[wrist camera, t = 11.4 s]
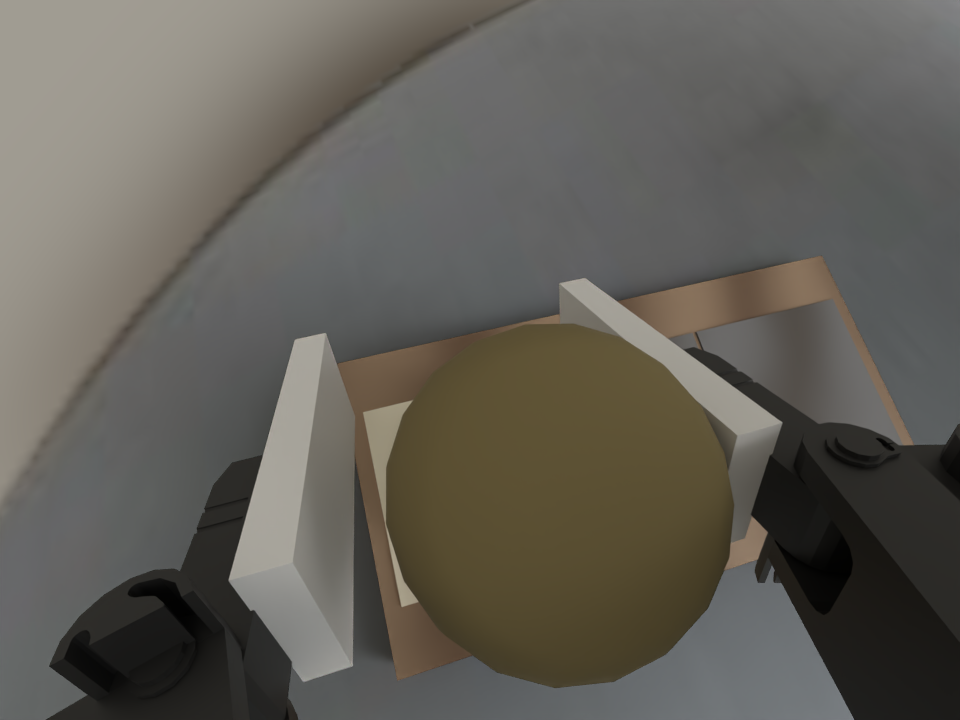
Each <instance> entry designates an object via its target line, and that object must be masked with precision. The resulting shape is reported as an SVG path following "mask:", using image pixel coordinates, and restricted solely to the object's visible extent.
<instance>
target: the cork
mask: <svg viewBox="0 0 960 720" xmlns="http://www.w3.org/2000/svg"><path fill="white" fill-rule="evenodd" d="M733 514H734V500H733V495H732V490H731V484H730V479H729V474H728V469H727V463H726V458H725V453H724V451H723V449H722V447H721V445H720V443H719V441H718V439H717V437H716V435H715V433H714V431H713V429H712V427H711V425H710V423H709V421H708V418H707V416H706V414H705V412H704V410H703V408H702V406H701V405H700V404H699V403H698V402H697V401H696V400H695V399H694V398H693V396H692V395H691V394H690V393H689V392H688V391H687V390H686V389H685V387H684V386H683V385H682V384H681V383H680V382H679V381H678V380H677V379H676V377H675V376H674V375H673V374H672V373H671V372H670V371H669V370H668V369H667V368H666V367H665V366H664V365H663V364H662V363H661V362H659V361H658V360H656V359H654V358H653V357H651V356H650V355H648V354H647V353H645V352H643V351H642V350H640V349H639V348H637V347H636V346H634V345H632V344H631V343H629V342H628V341H626V340H625V339H623V338H621V337H619V336H615V335H612V334H608V333H605V332H602V331H598V330H595V329H591V328H588V327H584V326H581V325H577V324H574V323H572V324H525V325H522V326H519V327H516V328H513V329H510V330H507V331H504V332H501V333H498V334H495V335H492V336H489V337H487V338H484V339H481V340H478V341H476V342H474V343H472V344H470V345H469V346H468V347H466V348H465V349H464V350H462V351H461V352H460V353H458V354H457V355H456V356H454V357H453V358H452V359H450V360H449V361H448V362H446V363H445V364H444V365H442V366H441V367H439V368H438V369H437V370H435V371H434V372H433V373H432V374H431V376H430V377H429V378H428V380H427V381H426V383H425V384H424V385H423V387H422V388H421V390H420V391H419V393H418V394H417V395H416V397H415V398H414V400H413V401H412V402H411V404H410V405H409V407H408V408H407V409H406V411H405V412H404V414H403V415H402V419H401V422H400V425H399V428H398V431H397V434H396V437H395V441H394V444H393V447H392V450H391V453H390V456H389V459H388V462H387V466H386V526H387V529H388V532H389V536H390V539H391V542H392V545H393V548H394V551H395V555H396V558H397V561H398V564H399V567H400V571H401V574H402V577H403V580H404V582H405V583H406V585H407V586H408V588H409V589H410V590H411V592H412V593H413V595H414V596H415V597H416V599H417V600H418V602H419V603H420V604H421V606H422V607H423V609H424V610H425V611H426V613H427V614H428V616H429V617H430V618H431V620H432V621H433V623H434V624H435V625H436V627H437V628H438V629H439V631H441V632H442V633H443V634H444V635H445V636H446V637H448V638H449V639H450V640H452V641H453V642H455V643H456V644H458V645H459V646H460V647H462V648H463V649H465V650H466V651H467V652H469V653H470V654H472V655H473V656H474V657H476V658H477V659H479V660H480V661H482V662H483V663H484V664H486V665H487V666H489V667H490V668H491V669H493V670H494V671H496V672H498V673H501V674H505V675H509V676H512V677H516V678H520V679H524V680H527V681H531V682H535V683H538V684H542V685H546V686H550V687H553V688H560V687H569V686H578V685H588V684H597V683H606V682H614V681H616V680H618V679H620V678H622V677H624V676H626V675H628V674H630V673H631V672H633V671H635V670H637V669H639V668H641V667H643V666H645V665H647V664H649V663H651V662H653V661H655V660H656V659H658V658H660V657H662V656H664V655H666V654H667V653H668V652H669V651H670V650H671V649H672V648H673V646H674V645H675V644H676V643H677V642H678V641H679V640H680V639H681V638H682V637H683V635H684V634H685V633H686V632H687V631H688V630H689V629H690V628H691V627H692V625H693V624H694V623H695V622H696V621H697V620H698V619H699V618H700V617H701V615H702V614H703V613H704V612H705V611H706V610H707V609H708V607H709V605H710V602H711V600H712V598H713V595H714V593H715V591H716V588H717V586H718V583H719V581H720V579H721V576H722V574H723V572H724V569H725V567H726V565H727V562H728V560H729V555H730V545H731V534H732V524H733Z"/></svg>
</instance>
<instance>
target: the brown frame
mask: <svg viewBox="0 0 960 720" xmlns="http://www.w3.org/2000/svg"><path fill="white" fill-rule="evenodd" d="M617 302H618V303H620V304H621V305H622V306H624V307H625V308H626V309H628V310H629V311H631V312H632V313H633V314H635V315H636V316H637V317H639V318H640V319H642V320H643V321H644V322H646V323H647V324H648V325H650V326H651V327H652V328H654V329H655V330H657V331H658V332H659V333H661V334H662V335H663V336H665V337H666V338H667V339H669V340H670V341H672V342H673V343H674V344H676V345H677V346H678V347H680V348H681V349H687V348H691V347H696V348H698V349H701V350H704V351H706V352H709V353H712V354H715V355H717V356H719V357H721V358H722V359H724V360H725V361H727V362H728V363H730V364H731V365H732V366H734V367H735V368H737V371H738V372H739V371H741V372H743V373H744V374H746V375H747V376H749V377H750V378H752V379H753V382H754V383H755V382H758V383H759V384H761V385H762V386H764V387H765V388H766V389H768V390H769V391H771V392H772V393H774V394H775V395H777V396H778V397H780V398H781V399H783V400H784V401H786V402H787V403H789V404H790V405H792V406H793V407H795V408H796V409H797V410H799V411H800V412H802V413H803V414H805V415H806V416H808V417H809V418H811V419H812V420H814V421H815V422H817V423H818V424H822V423H827V422H833V423H847V424H852V425H856V426H859V427H863V428H867V429H870V430H872V431H875V432H877V433H879V434H881V435H883V436H886V437H888V438H890V439H891V440H892V441H894V442H895V443H897V444H898V445H914V443H913V441H912V439H911V437H910V435H909V433H908V431H907V429H906V427H905V425H904V423H903V421H902V419H901V417H900V415H899V413H898V411H897V409H896V407H895V404H894V402H893V400H892V398H891V396H890V394H889V392H888V390H887V388H886V386H885V384H884V382H883V380H882V378H881V376H880V374H879V372H878V370H877V368H876V366H875V363H874V361H873V359H872V357H871V355H870V353H869V351H868V349H867V347H866V345H865V343H864V341H863V339H862V337H861V335H860V333H859V331H858V329H857V327H856V324H855V322H854V320H853V318H852V316H851V314H850V312H849V310H848V308H847V306H846V304H845V302H844V300H843V298H842V296H841V294H840V292H839V290H838V288H837V286H836V283H835V281H834V279H833V277H832V275H831V273H830V271H829V269H828V267H827V265H826V263H825V261H824V259H823V257H822V256H818V257H813V258H809V259H804V260H800V261H795V262H791V263H786V264H782V265H777V266H773V267H768V268H764V269H759V270H755V271H750V272H746V273H741V274H737V275H732V276H728V277H723V278H719V279H714V280H710V281H705V282H701V283H696V284H692V285H687V286H683V287H678V288H674V289H670V290H665V291H661V292H656V293H652V294H647V295H643V296H638V297H634V298H629V299H625V300H620V301H617ZM525 324H560V314H557V315H553V316H548V317H544V318H539V319H535V320H530V321H526V322H521V323H517V324H512V325H508V326H503V327H499V328H494V329H490V330H486V331H481V332H477V333H472V334H468V335H463V336H459V337H454V338H450V339H445V340H441V341H436V342H432V343H427V344H423V345H418V346H414V347H409V348H405V349H400V350H396V351H391V352H387V353H382V354H378V355H373V356H369V357H364V358H360V359H355V360H351V361H346V362H342V363H337V364H338V369H339V372H340V375H341V378H342V381H343V383H344V386H345V389H346V392H347V395H348V398H349V401H350V404H351V406H352V409H353V412H354V415H355V460H356V465H357V470H358V476H359V481H360V486H361V491H362V497H363V502H364V507H365V513H366V518H367V523H368V528H369V534H370V539H371V544H372V550H373V555H374V560H375V565H376V571H377V576H378V581H379V587H380V592H381V597H382V602H383V608H384V613H385V618H386V624H387V629H388V634H389V639H390V645H391V650H392V655H393V661H394V666H395V671H396V677H397V681H398V680H401V679H404V678H407V677H410V676H413V675H416V674H419V673H422V672H425V671H428V670H431V669H434V668H436V667H439V666H442V665H445V664H448V663H451V662H454V661H457V660H460V659H463V658H466V657H469V656H472V654H470V653H469V652H467V651H466V650H465V649H463V648H462V647H460V646H459V645H458V644H456V643H455V642H453V641H452V640H450V639H449V638H448V637H446V636H445V635H444V634H443V633H442V632H441V631H439V629H438V628H437V627H436V625H435V624H434V623H433V621H432V620H431V618H430V617H429V616H428V614H427V613H426V611H425V610H424V609H423V607H422V606H421V604H420V603H419V602H418V600H417V599H416V597H415V596H414V595H413V593H412V592H411V590H410V589H409V588H408V586H407V585H406V583H405V582H404V580H403V577H402V574H401V571H400V567H399V564H398V561H397V558H396V555H395V551H394V548H393V545H392V542H391V539H390V536H389V532H388V529H387V526H386V466H387V462H388V459H389V456H390V453H391V450H392V447H393V444H394V441H395V437H396V434H397V431H398V428H399V425H400V422H401V419H402V415H403V414H404V412H405V411H406V409H407V408H408V407H409V405H410V404H411V402H412V401H413V400H414V398H415V397H416V395H417V394H418V393H419V391H420V390H421V388H422V387H423V385H424V384H425V383H426V381H427V380H428V378H429V377H430V376H431V374H432V373H433V372H434V371H435V370H437V369H438V368H439V367H441V366H442V365H444V364H445V363H446V362H448V361H449V360H450V359H452V358H453V357H454V356H456V355H457V354H458V353H460V352H461V351H462V350H464V349H465V348H466V347H468V346H469V345H470V344H472V343H474V342H476V341H478V340H481V339H484V338H487V337H489V336H492V335H495V334H498V333H501V332H504V331H507V330H510V329H513V328H516V327H519V326H522V325H525ZM767 533H768V532H767V531H766V530H765V529H764V528H763V527H762V526H761V525H760V524H759V523H758V522H757V521H756V520H755V519H754V518H753V517H752V518H751V521H750V524H749V527H748V530H747V533H746V536H745V539H741V540H738V541H735V542H732V543H731V545H730V555H729V560H728V562H727V565H726V567H725V569H724V571H725V570H728V569H731V568H734V567H737V566H740V565H743V564H746V563H749V562H752V561H755V560H758V557H759V555H760V552H761V549H762V546H763V544H764V541H765V538H766V535H767Z"/></svg>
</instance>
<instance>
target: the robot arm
mask: <svg viewBox="0 0 960 720" xmlns="http://www.w3.org/2000/svg"><path fill="white" fill-rule="evenodd" d="M559 300H560V324H572V323H574V324H577V325H581V326H584V327H588V328H591V329H595V330H598V331H602V332H605V333H608V334H612V335H615V336H619V337H621V338H623V339H625V340H626V341H628V342H629V343H631V344H632V345H634V346H636V347H637V348H639V349H640V350H642V351H643V352H645V353H647V354H648V355H650V356H651V357H653V358H654V359H656V360H658V361H659V362H661V363H662V364H663V365H664V366H665V367H666V368H667V369H668V370H669V371H670V372H671V373H672V374H673V375H674V376H675V377H676V379H677V380H678V381H679V382H680V383H681V384H682V385H683V386H684V387H685V389H686V390H687V391H688V392H689V393H690V394H691V395H692V396H693V398H694V399H695V400H696V401H697V402H698V403H699V404H700V405H701V406H702V408H703V410H704V412H705V414H706V416H707V418H708V421H709V423H710V425H711V427H712V429H713V431H714V433H715V435H716V437H717V439H718V441H719V443H720V445H721V447H722V449H723V451H724V453H725V458H726V463H727V469H728V474H729V479H730V484H731V490H732V495H733V500H734V514H733V524H732V534H731V543H732V542H735V541H738V540H741V539H745V536H746V533H747V530H748V527H749V524H750V521H751V518H752V517H753V518H754V519H755V520H756V521H757V522H758V523H759V524H760V525H761V526H762V527H763V528H764V529H765V530H766V531H767V532H768V533H767V535H766V538H765V541H764V544H763V546H762V549H761V552H760V555H759V557H758V560H757V564H756V567H755V573H756V577H757V581H758V583H765V581H766V578H767V576H768V573H769V571H770V568H771V566H773V568H774V570H775V572H774V580H773V581H774V583H782V585H783V586H784V588H785V590H786V592H787V594H788V596H789V598H790V600H791V601H792V603H793V605H794V607H795V609H796V611H797V613H798V615H799V617H800V618H801V620H802V622H803V624H804V626H805V628H806V630H807V632H808V633H809V635H810V637H811V639H812V641H813V643H814V645H815V647H816V648H817V650H818V652H819V654H820V656H821V658H822V660H823V662H824V663H825V665H826V667H827V669H828V671H829V673H830V675H831V677H832V678H833V680H834V682H835V684H836V686H837V688H838V690H839V692H840V693H841V695H842V697H843V699H844V701H845V703H846V705H847V707H848V708H849V710H850V712H851V714H852V716H853V718H854V720H960V424H958V425H957V427H956V429H955V430H954V432H953V434H952V435H951V437H950V438H949V440H948V442H947V443H946V445H898V444H897V443H895V442H894V441H892V440H891V439H890V438H888V437H886V436H883V435H881V434H879V433H877V432H875V431H872V430H870V429H867V428H863V427H859V426H856V425H852V424H847V423H833V422H827V423H822V424H818V423H817V422H815V421H814V420H812V419H811V418H809V417H808V416H806V415H805V414H803V413H802V412H800V411H799V410H797V409H796V408H795V407H793V406H792V405H790V404H789V403H787V402H786V401H784V400H783V399H781V398H780V397H778V396H777V395H775V394H774V393H772V392H771V391H769V390H768V389H766V388H765V387H764V386H762V385H761V384H759V383H758V382H755V383H754V382H753V379H752V378H750V377H749V376H747V375H746V374H744V373H743V372H741V371H739V372H738V371H737V368H735V367H734V366H732V365H731V364H730V363H728V362H727V361H725V360H724V359H722V358H721V357H719V356H717V355H715V354H712V353H709V352H706V351H704V350H701V349H698V348H696V347H691V348H687V349H681V348H680V347H678V346H677V345H676V344H674V343H673V342H672V341H670V340H669V339H667V338H666V337H665V336H663V335H662V334H661V333H659V332H658V331H657V330H655V329H654V328H652V327H651V326H650V325H648V324H647V323H646V322H644V321H643V320H642V319H640V318H639V317H637V316H636V315H635V314H633V313H632V312H631V311H629V310H628V309H626V308H625V307H624V306H622V305H621V304H620V303H618V302H617V301H616V300H614V299H613V298H611V297H610V296H609V295H607V294H606V293H605V292H603V291H602V290H601V289H599V288H598V287H596V286H595V285H594V284H592V283H591V282H590V281H588V280H587V279H585V278H582V279H578V280H573V281H568V282H563V283H559ZM354 477H355V415H354V412H353V409H352V406H351V404H350V401H349V398H348V395H347V392H346V389H345V386H344V383H343V381H342V378H341V375H340V372H339V369H338V366H337V363H336V361H335V358H334V355H333V352H332V349H331V346H330V343H329V340H328V338H327V335H326V333H323V334H318V335H313V336H309V337H304V338H299V339H295V341H294V345H293V349H292V352H291V356H290V360H289V363H288V367H287V370H286V374H285V378H284V381H283V385H282V389H281V392H280V396H279V399H278V403H277V407H276V410H275V414H274V418H273V421H272V425H271V428H270V432H269V436H268V439H267V443H266V446H265V450H264V454H263V455H261V456H257V457H253V458H249V459H245V460H241V461H237V462H233V463H232V464H231V465H230V466H229V467H228V468H227V470H226V471H225V472H224V473H223V474H222V476H221V477H220V478H219V479H218V480H217V482H216V483H215V484H214V485H213V488H212V490H211V493H210V496H209V498H208V501H207V503H206V506H205V508H204V509H205V513H203V514H202V516H201V519H200V521H199V524H198V527H197V533H196V534H194V537H193V539H192V542H191V545H190V547H189V550H188V552H187V555H186V558H185V560H184V563H183V565H182V568H181V570H180V571H178V570H176V569H162V570H153V571H150V572H147V573H145V574H142V575H139V576H136V577H133V578H131V579H129V580H127V581H126V582H124V583H122V584H121V585H119V586H118V587H116V588H114V589H113V590H111V591H109V592H108V593H106V594H105V595H103V596H102V597H101V598H100V599H99V600H98V601H97V602H95V603H94V604H93V605H92V606H91V607H90V608H89V609H87V610H86V611H85V612H84V613H83V614H82V615H81V616H80V617H79V618H78V619H77V621H76V622H75V623H74V624H73V626H72V627H71V628H70V629H69V631H68V632H67V633H66V634H65V636H64V637H63V638H62V640H61V641H60V643H59V645H58V647H57V649H56V652H55V654H54V656H53V658H52V661H51V663H50V665H49V667H51V668H52V669H53V670H55V671H56V672H58V673H59V674H60V675H62V676H63V677H64V678H66V679H67V680H68V681H70V682H71V683H73V684H74V685H75V686H77V687H78V688H79V689H81V690H82V691H83V692H85V693H86V694H88V695H87V696H86V697H84V698H82V699H80V700H79V701H77V702H75V703H74V704H72V705H70V706H68V707H67V708H65V709H63V710H62V711H60V712H58V713H56V714H55V715H53V716H51V717H50V718H48V719H46V720H298V717H297V714H296V712H295V710H294V707H293V705H292V703H291V701H290V700H289V699H288V691H289V683H290V674H291V666H292V667H293V669H294V670H295V671H296V673H297V674H298V676H299V677H300V678H301V680H302V681H303V682H306V681H309V680H312V679H315V678H318V677H321V676H324V675H327V674H330V673H333V672H336V671H339V670H342V669H345V668H349V667H352V666H353V585H354Z"/></svg>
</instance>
